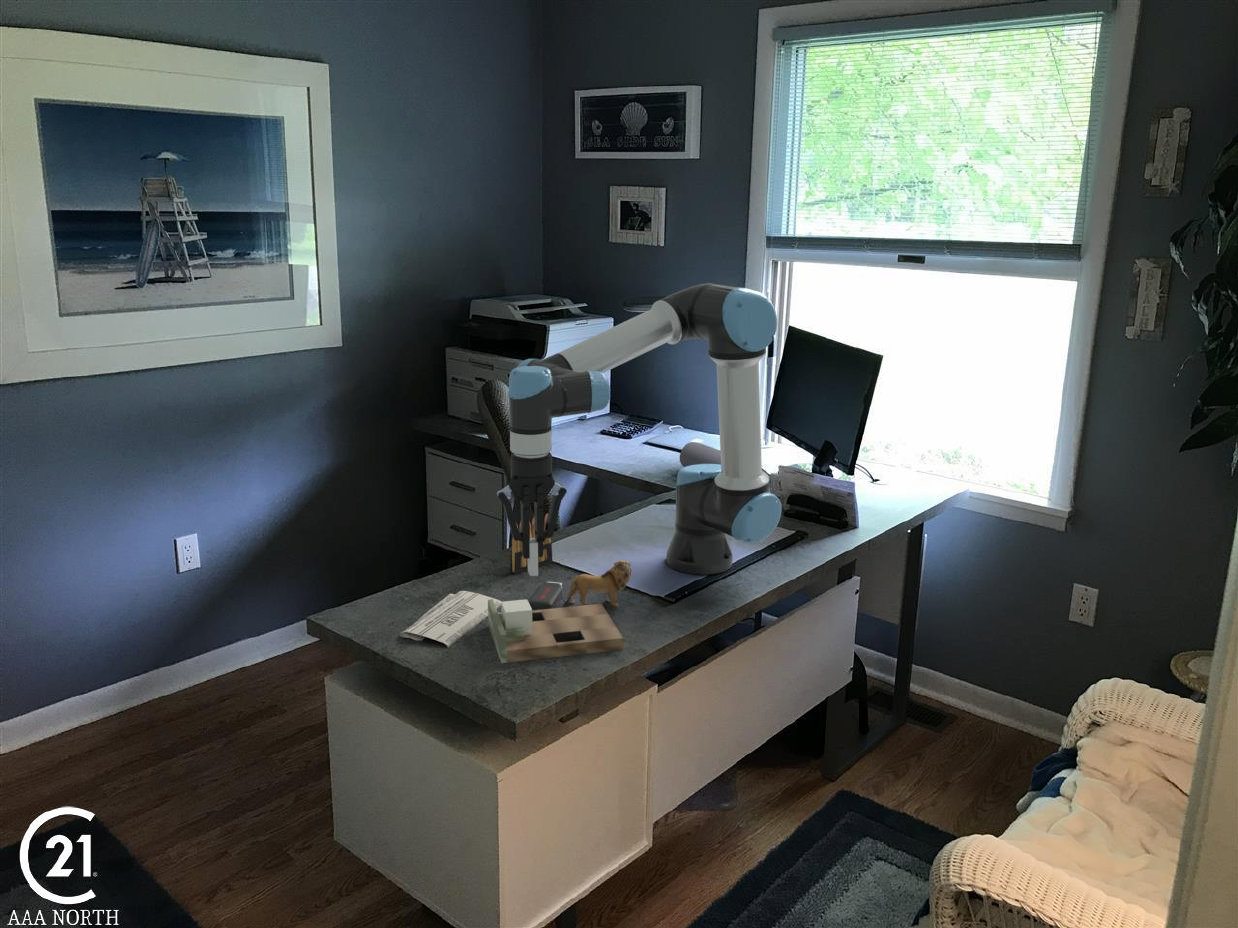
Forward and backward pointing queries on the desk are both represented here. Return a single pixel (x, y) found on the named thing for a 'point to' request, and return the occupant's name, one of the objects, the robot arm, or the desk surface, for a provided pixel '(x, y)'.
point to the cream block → (517, 615)
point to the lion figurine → (602, 583)
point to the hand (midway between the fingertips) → (533, 573)
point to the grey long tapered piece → (699, 454)
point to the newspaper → (451, 617)
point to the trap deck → (556, 633)
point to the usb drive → (546, 596)
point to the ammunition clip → (522, 564)
